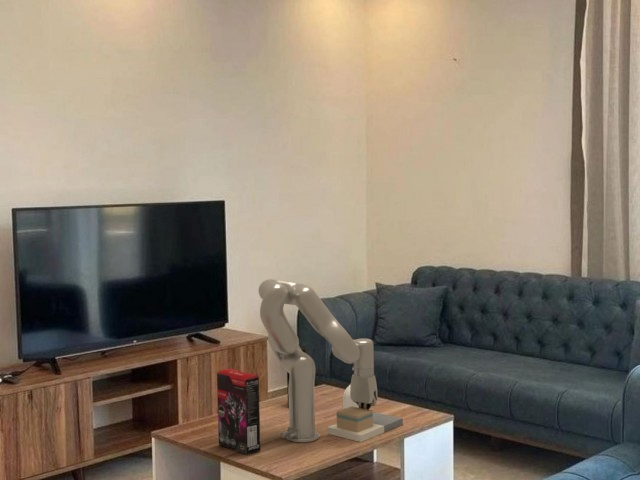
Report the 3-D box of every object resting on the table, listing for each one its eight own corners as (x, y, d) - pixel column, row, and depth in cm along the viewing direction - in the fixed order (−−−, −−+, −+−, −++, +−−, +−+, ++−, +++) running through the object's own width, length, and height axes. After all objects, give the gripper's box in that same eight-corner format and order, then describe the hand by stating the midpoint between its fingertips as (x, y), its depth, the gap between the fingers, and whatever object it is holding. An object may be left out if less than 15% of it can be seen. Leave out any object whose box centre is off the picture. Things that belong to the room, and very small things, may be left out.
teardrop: (339, 408, 331) (338, 380, 330) (346, 401, 341) (346, 374, 340) (365, 410, 327) (364, 382, 326) (371, 403, 338) (371, 375, 337)
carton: (357, 432, 291) (357, 416, 291) (336, 427, 298) (336, 411, 297) (372, 426, 298) (372, 410, 297) (352, 421, 304) (351, 406, 304)
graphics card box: (217, 445, 288) (214, 371, 286) (232, 440, 293) (230, 367, 291) (247, 456, 276) (244, 378, 274) (262, 451, 281) (260, 375, 279)
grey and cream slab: (361, 442, 288) (360, 435, 288) (327, 433, 298) (327, 427, 298) (402, 424, 307) (402, 418, 307) (369, 417, 318) (369, 411, 318)
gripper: (342, 370, 303) (343, 418, 304) (373, 376, 293) (374, 425, 295) (354, 367, 309) (355, 413, 310) (385, 372, 299) (386, 420, 300)
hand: (364, 419), depth 302 cm, fingers closed
